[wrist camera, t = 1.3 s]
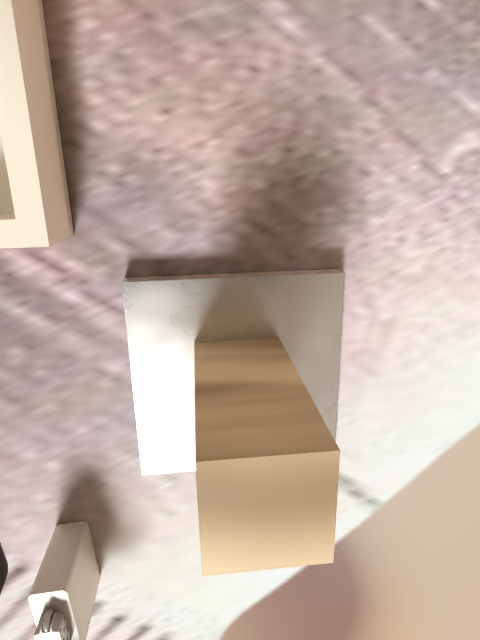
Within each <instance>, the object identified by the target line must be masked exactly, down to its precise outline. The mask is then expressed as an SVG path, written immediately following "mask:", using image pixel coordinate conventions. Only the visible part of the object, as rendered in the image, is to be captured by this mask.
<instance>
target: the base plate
mask: <svg viewBox="0 0 480 640" xmlns="http://www.w3.org/2000/svg"><path fill="white" fill-rule="evenodd" d="M344 275H345V273H344V272H342V271H341V270H339V269H319V270H294V271H270V272H245V273H221V274H196V275H172V276H148V277H125V278H124V279H123V281H122V292H123V301H124V311H125V320H126V329H127V339H128V348H129V358H130V367H131V376H132V386H133V395H134V405H135V414H136V423H137V433H138V442H139V452H140V461H141V471H142V475H149V474H161V473H174V472H186V471H196V465H195V375H194V343H200V342H219V341H237V340H255V339H273V338H280V340H281V342H282V344H283V346H284V348H285V350H286V351H287V353H288V355H289V357H290V359H291V361H292V363H293V364H294V366H295V368H296V370H297V372H298V374H299V376H300V377H301V379H302V381H303V383H304V385H305V387H306V389H307V390H308V392H309V394H310V396H311V398H312V400H313V402H314V403H315V405H316V407H317V409H318V411H319V413H320V415H321V416H322V418H323V420H324V422H325V424H326V426H327V427H328V429H329V431H330V433H331V435H332V437H333V439H334V440H335V438H336V420H337V402H338V384H339V366H340V348H341V330H342V312H343V293H344Z"/></svg>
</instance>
